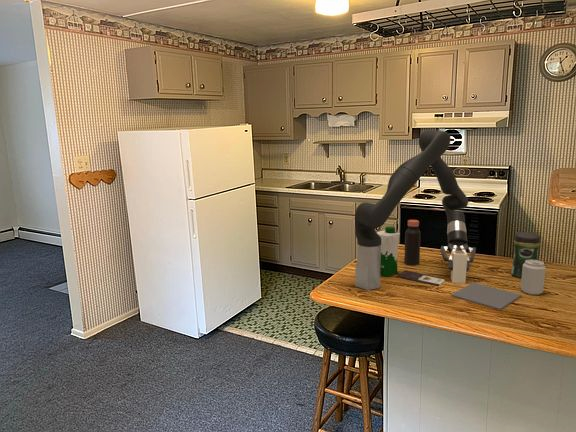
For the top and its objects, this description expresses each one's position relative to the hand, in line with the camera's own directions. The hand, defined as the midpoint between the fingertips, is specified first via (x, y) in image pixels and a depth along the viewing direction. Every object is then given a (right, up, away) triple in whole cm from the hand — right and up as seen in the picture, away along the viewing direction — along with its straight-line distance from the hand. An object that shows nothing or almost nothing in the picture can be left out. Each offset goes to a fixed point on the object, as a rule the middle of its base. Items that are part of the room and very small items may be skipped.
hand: (459, 270), depth 175 cm
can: (+23, -7, -10) cm, 26 cm away
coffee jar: (+30, -3, +7) cm, 31 cm away
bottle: (-12, 0, +26) cm, 29 cm away
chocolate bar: (-14, -5, +7) cm, 16 cm away
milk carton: (-27, -3, +13) cm, 30 cm away
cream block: (0, -5, +3) cm, 6 cm away
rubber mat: (+4, -8, -13) cm, 16 cm away
